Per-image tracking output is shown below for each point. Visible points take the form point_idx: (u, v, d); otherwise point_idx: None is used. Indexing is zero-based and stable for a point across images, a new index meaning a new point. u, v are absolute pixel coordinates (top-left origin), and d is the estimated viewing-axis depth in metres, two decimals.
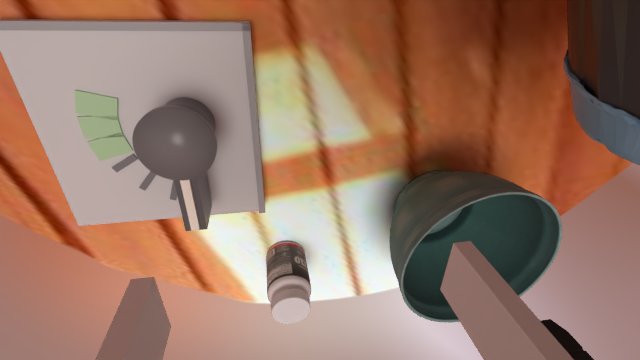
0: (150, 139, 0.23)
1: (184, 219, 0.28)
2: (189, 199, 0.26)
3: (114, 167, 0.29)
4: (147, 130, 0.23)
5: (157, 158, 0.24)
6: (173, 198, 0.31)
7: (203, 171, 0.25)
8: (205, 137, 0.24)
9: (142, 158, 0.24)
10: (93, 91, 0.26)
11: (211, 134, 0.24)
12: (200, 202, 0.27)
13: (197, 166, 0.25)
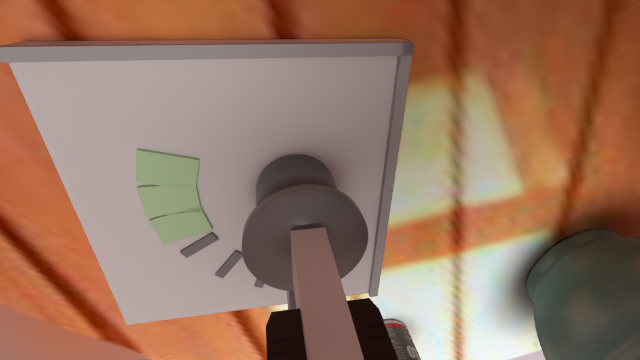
0: (270, 239, 0.14)
1: None
2: None
3: (184, 251, 0.20)
4: (268, 226, 0.14)
5: (275, 264, 0.15)
6: (260, 285, 0.22)
7: None
8: (354, 231, 0.15)
9: (252, 266, 0.15)
10: (163, 150, 0.17)
11: (365, 226, 0.15)
12: None
13: None
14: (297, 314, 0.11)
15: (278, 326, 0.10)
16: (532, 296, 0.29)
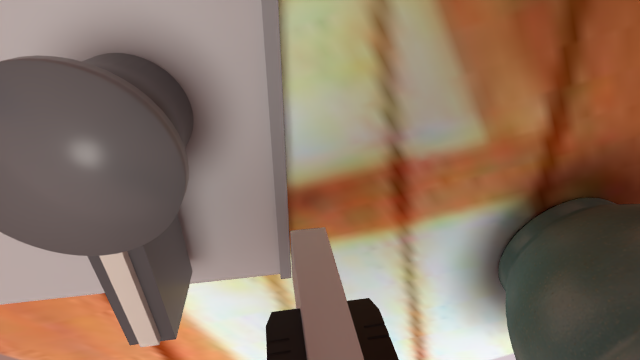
0: None
1: (123, 325, 0.13)
2: (128, 291, 0.11)
3: None
4: None
5: (22, 206, 0.09)
6: None
7: (154, 233, 0.10)
8: (150, 149, 0.09)
9: None
10: None
11: (167, 141, 0.09)
12: (156, 292, 0.12)
13: (136, 222, 0.10)
14: (297, 314, 0.11)
15: (278, 326, 0.10)
16: (505, 283, 0.23)
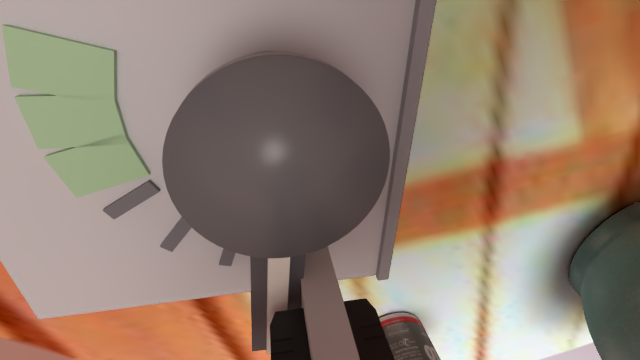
0: (217, 151, 0.08)
1: (254, 330, 0.12)
2: (279, 295, 0.11)
3: (108, 209, 0.13)
4: (213, 123, 0.07)
5: (226, 204, 0.08)
6: (227, 263, 0.16)
7: (334, 238, 0.10)
8: (368, 153, 0.08)
9: (184, 203, 0.08)
10: (53, 31, 0.10)
11: (385, 146, 0.08)
12: (299, 298, 0.12)
13: (324, 226, 0.09)
14: (301, 314, 0.11)
15: (282, 326, 0.10)
16: (579, 281, 0.23)
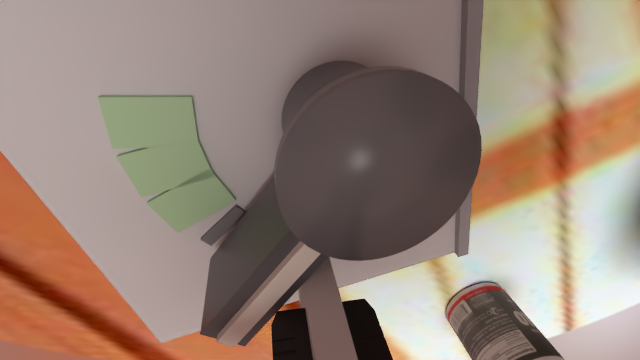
0: (356, 131, 0.08)
1: (221, 313, 0.11)
2: (279, 287, 0.10)
3: (205, 238, 0.15)
4: (374, 108, 0.08)
5: (321, 180, 0.08)
6: None
7: (370, 256, 0.10)
8: (446, 201, 0.10)
9: (291, 158, 0.08)
10: (138, 91, 0.11)
11: (460, 202, 0.10)
12: (287, 297, 0.11)
13: (371, 242, 0.10)
14: (302, 313, 0.11)
15: (283, 325, 0.10)
16: None
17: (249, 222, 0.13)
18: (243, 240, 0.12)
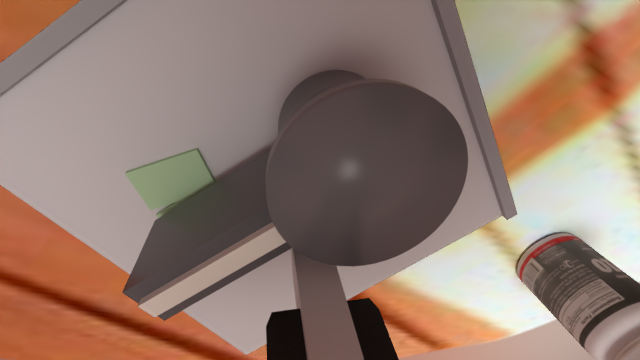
0: (366, 132, 0.08)
1: (155, 276, 0.10)
2: (230, 265, 0.10)
3: None
4: (390, 117, 0.08)
5: (317, 167, 0.08)
6: None
7: (330, 261, 0.10)
8: (416, 229, 0.10)
9: (299, 135, 0.08)
10: (154, 158, 0.13)
11: (427, 234, 0.10)
12: (230, 280, 0.11)
13: (337, 246, 0.10)
14: (297, 314, 0.11)
15: (278, 326, 0.10)
16: None
17: (214, 194, 0.12)
18: (202, 210, 0.12)
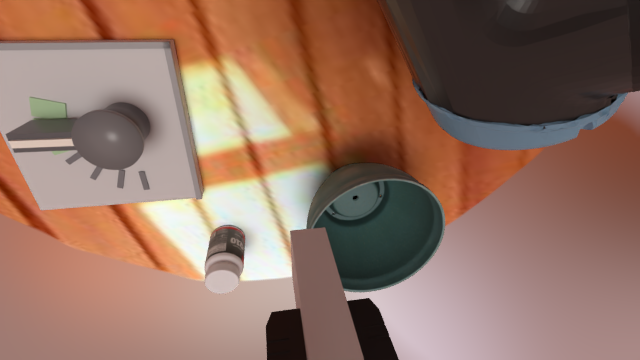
0: (110, 125, 0.29)
1: (21, 134, 0.29)
2: (50, 143, 0.29)
3: (67, 160, 0.35)
4: (118, 124, 0.29)
5: (92, 127, 0.29)
6: (120, 187, 0.37)
7: (87, 159, 0.30)
8: (121, 163, 0.31)
9: (89, 116, 0.28)
10: (45, 98, 0.32)
11: (125, 167, 0.31)
12: (48, 150, 0.30)
13: (91, 155, 0.30)
14: (297, 314, 0.11)
15: (278, 326, 0.10)
16: None
17: (61, 122, 0.31)
18: (53, 124, 0.31)
